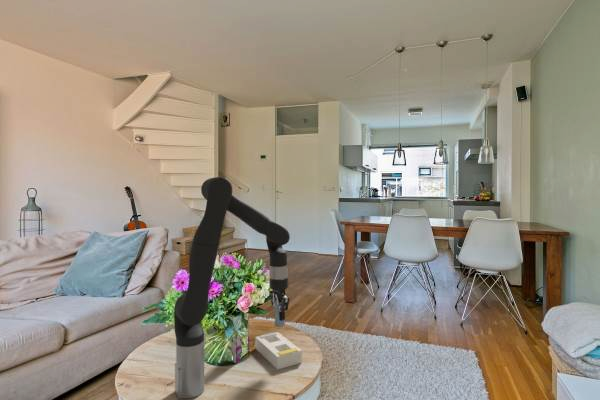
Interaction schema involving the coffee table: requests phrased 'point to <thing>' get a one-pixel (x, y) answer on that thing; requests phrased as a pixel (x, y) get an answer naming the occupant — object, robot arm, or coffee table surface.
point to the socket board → (278, 350)
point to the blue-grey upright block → (277, 321)
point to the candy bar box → (238, 346)
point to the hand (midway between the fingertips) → (279, 318)
